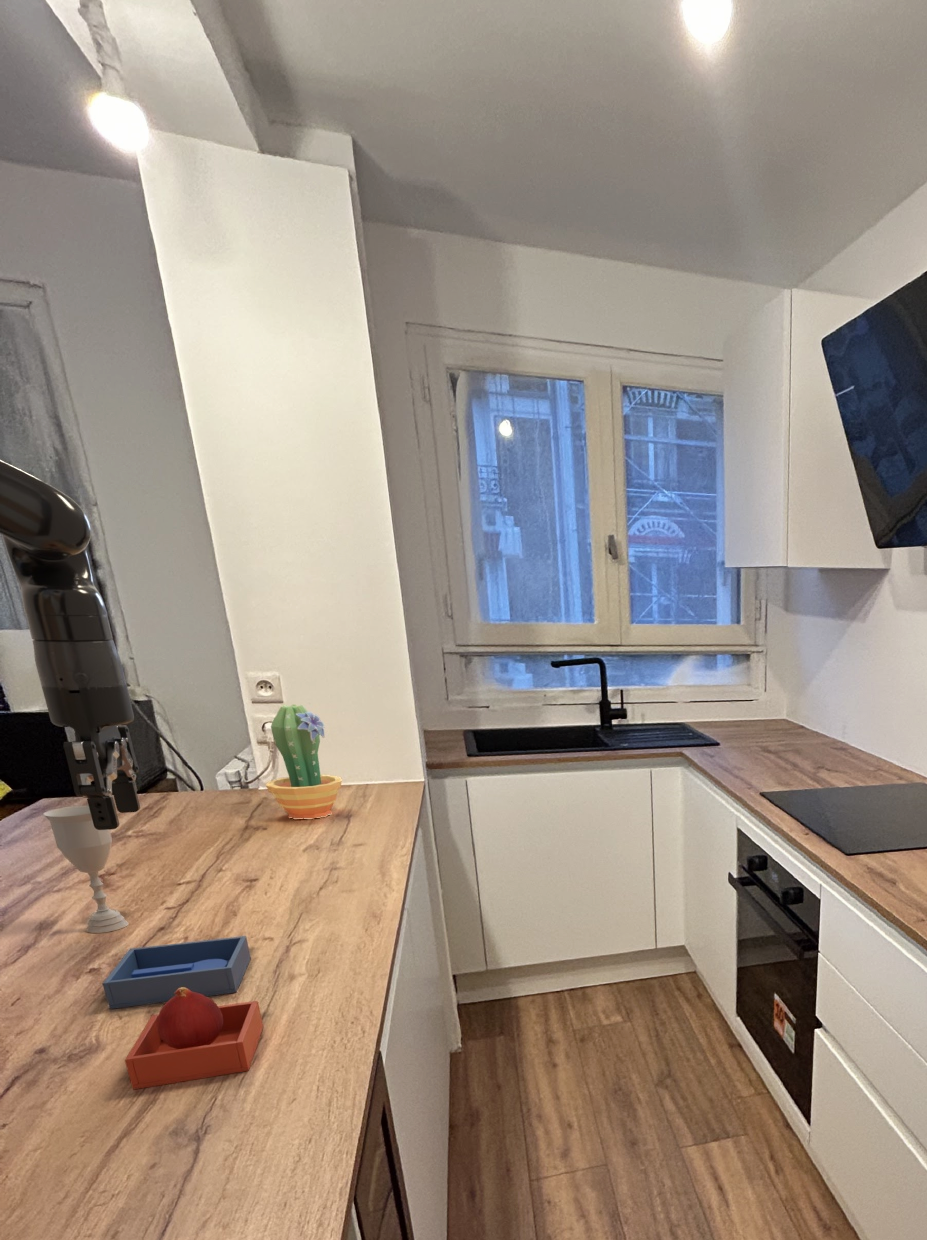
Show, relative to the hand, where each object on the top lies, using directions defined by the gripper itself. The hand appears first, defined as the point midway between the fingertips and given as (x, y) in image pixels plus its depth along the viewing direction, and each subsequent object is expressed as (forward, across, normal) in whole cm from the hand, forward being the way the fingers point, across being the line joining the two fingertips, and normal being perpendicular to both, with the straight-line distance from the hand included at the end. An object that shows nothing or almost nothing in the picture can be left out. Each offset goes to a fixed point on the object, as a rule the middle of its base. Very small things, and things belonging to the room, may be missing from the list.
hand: (119, 820), depth 97 cm
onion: (+22, +22, +8) cm, 32 cm away
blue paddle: (+22, 0, +2) cm, 22 cm away
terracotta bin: (+22, +22, +9) cm, 32 cm away
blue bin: (+22, 0, +3) cm, 22 cm away
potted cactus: (+22, -92, +9) cm, 95 cm away
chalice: (+22, -26, -12) cm, 36 cm away
